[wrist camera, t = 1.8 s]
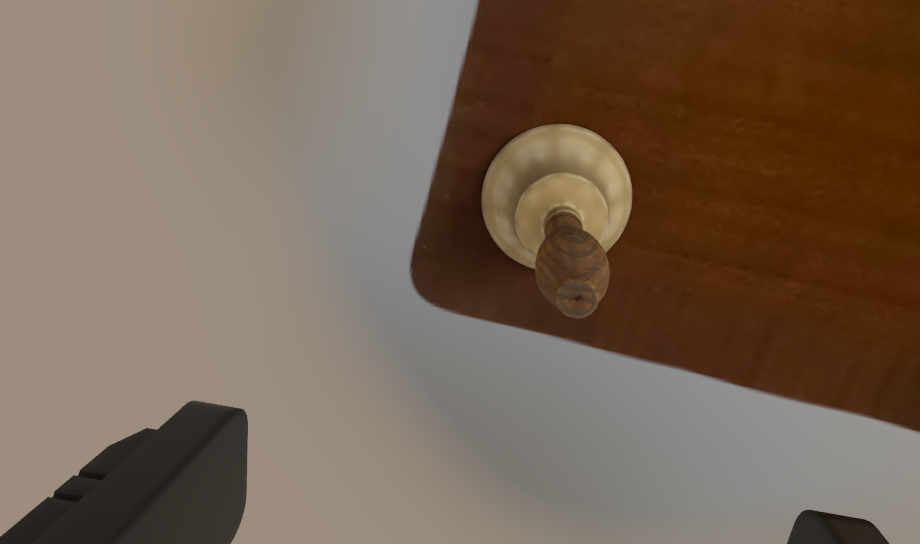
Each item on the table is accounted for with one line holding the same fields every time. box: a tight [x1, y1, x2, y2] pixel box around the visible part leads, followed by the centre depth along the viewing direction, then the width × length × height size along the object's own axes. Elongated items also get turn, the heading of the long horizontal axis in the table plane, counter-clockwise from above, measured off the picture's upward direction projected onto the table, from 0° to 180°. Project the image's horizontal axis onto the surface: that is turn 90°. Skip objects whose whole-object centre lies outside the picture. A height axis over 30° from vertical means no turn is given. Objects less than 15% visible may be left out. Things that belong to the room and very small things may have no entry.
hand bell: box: [482, 124, 632, 318], centre depth 26 cm, size 8×8×16 cm
